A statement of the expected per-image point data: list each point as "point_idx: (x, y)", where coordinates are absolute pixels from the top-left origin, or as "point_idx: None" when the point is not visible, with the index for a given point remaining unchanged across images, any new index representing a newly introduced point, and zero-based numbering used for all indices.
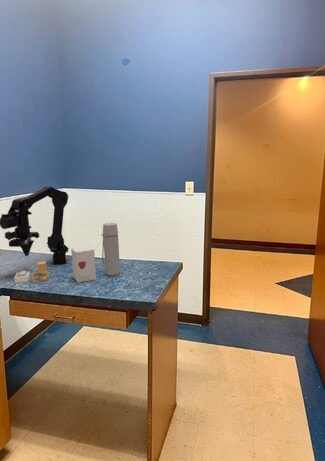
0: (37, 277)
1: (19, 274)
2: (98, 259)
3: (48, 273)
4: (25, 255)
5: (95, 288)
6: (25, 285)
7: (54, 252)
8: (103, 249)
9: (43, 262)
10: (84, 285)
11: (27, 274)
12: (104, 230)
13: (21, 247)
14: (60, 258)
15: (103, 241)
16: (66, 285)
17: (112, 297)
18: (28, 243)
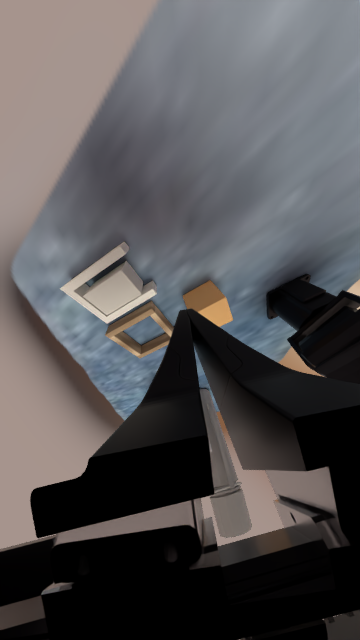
0: (123, 343)
1: (87, 299)
2: (277, 354)
3: (161, 347)
4: (178, 314)
5: (140, 402)
6: (82, 325)
7: (323, 307)
8: (218, 434)
9: (214, 323)
10: (145, 392)
11: (121, 311)
12: (217, 512)
13: (153, 388)
14: (283, 317)
15: (224, 459)
16: (133, 380)
17: (125, 416)
18: (169, 488)
